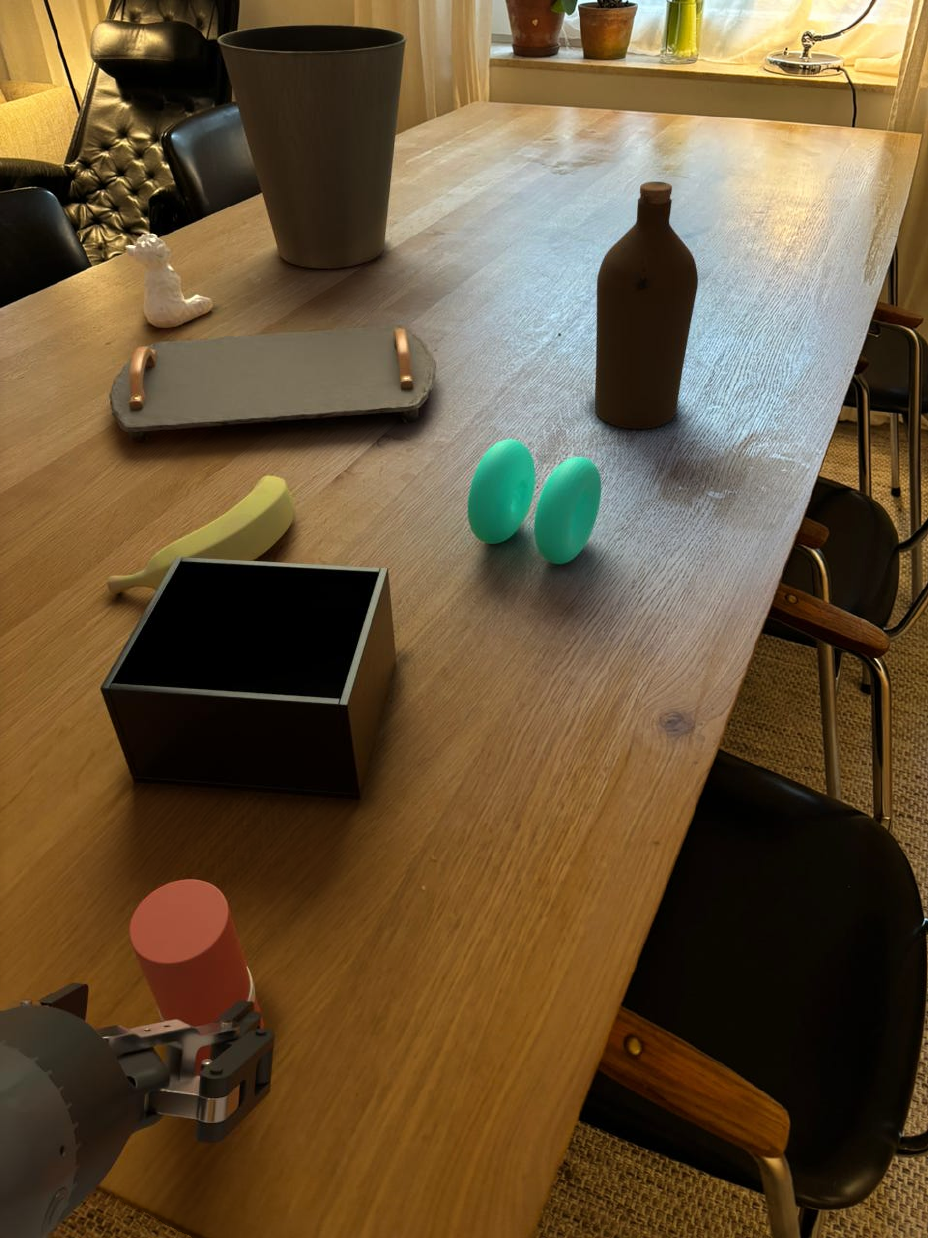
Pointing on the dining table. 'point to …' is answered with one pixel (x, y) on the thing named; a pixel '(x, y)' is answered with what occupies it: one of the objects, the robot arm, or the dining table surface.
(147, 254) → the white creature statuette
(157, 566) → the banana
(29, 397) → the dining table surface
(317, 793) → the bin
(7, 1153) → the robot arm
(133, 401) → the serving tray
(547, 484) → the green wheel pair
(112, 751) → the dining table surface
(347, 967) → the dining table surface
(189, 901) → the striped red cylinder
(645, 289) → the olive oil
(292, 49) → the waste basket
